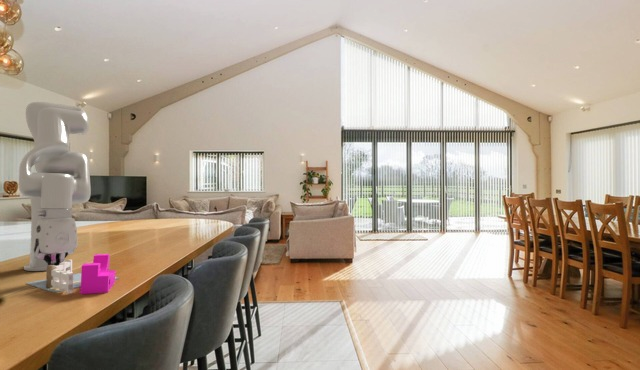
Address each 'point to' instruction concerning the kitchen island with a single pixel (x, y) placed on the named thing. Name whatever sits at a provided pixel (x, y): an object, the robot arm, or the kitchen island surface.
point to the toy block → (97, 275)
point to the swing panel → (65, 266)
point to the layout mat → (42, 285)
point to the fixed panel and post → (59, 279)
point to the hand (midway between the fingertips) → (54, 275)
